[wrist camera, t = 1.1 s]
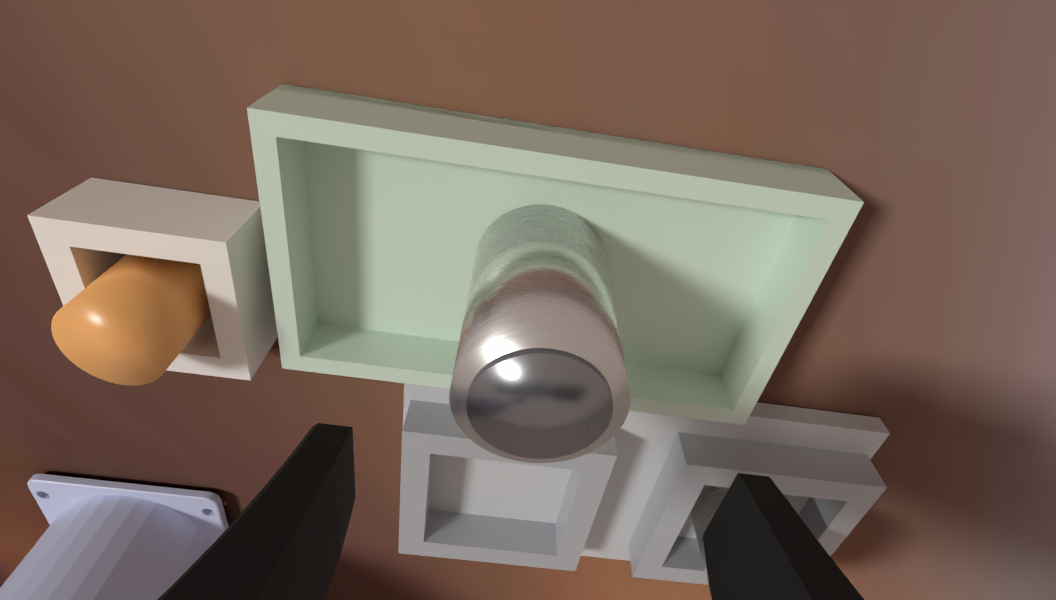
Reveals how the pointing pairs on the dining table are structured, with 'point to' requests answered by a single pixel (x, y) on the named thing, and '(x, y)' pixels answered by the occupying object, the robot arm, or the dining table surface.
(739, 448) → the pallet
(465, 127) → the tray
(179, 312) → the button cap
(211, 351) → the button housing
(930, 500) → the dining table surface
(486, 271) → the cylinder
